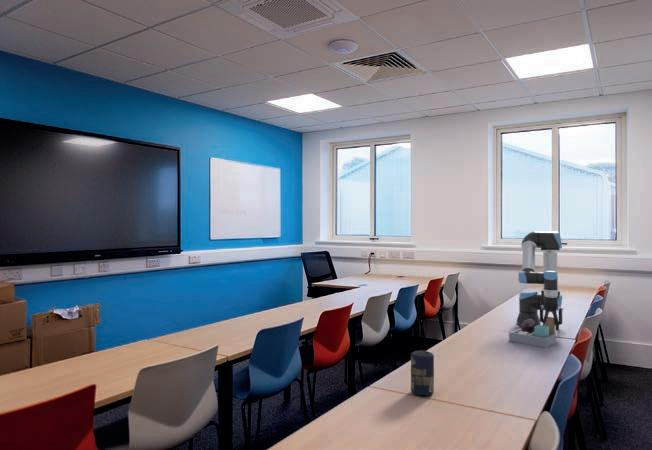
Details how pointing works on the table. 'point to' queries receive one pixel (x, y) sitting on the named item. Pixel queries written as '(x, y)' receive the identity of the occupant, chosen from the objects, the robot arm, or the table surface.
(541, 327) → the block
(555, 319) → the robot arm
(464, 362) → the table surface
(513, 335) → the lane rack
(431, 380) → the canister
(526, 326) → the rock
